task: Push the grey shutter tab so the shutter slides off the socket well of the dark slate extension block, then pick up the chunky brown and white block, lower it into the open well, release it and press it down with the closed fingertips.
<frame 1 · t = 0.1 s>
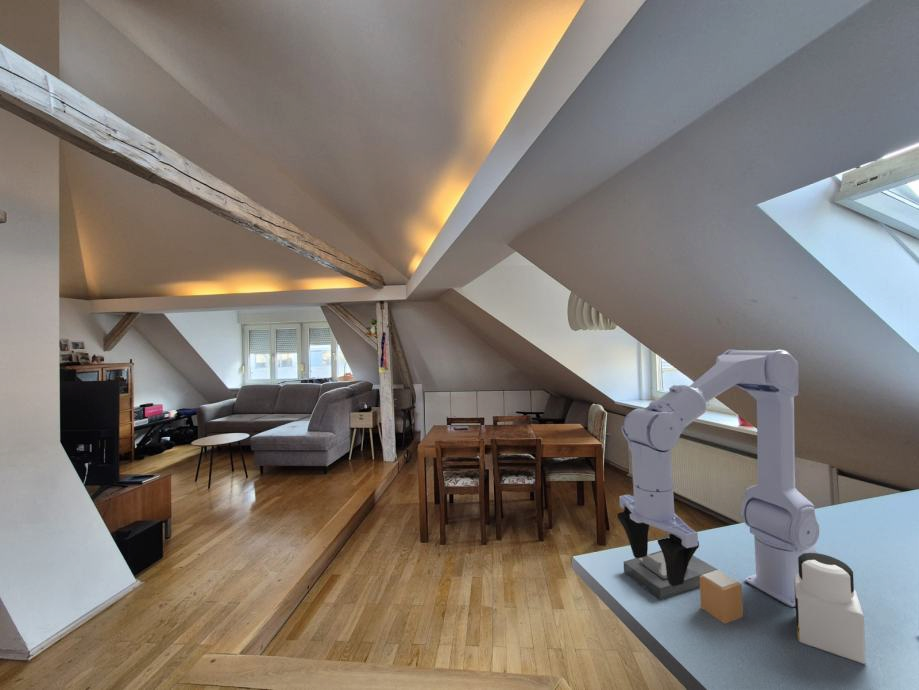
hand: (657, 569, 61), 10 cm above the kitchen counter, fingers open, 7 cm apart
medicine bottle: (828, 639, 58), on the kitchen counter
shutter: (662, 560, 74), point 4 cm above the kitchen counter, slide at 0.0 cm
brown and white block: (721, 611, 65), on the kitchen counter
socket plate: (669, 576, 75), on the kitchen counter
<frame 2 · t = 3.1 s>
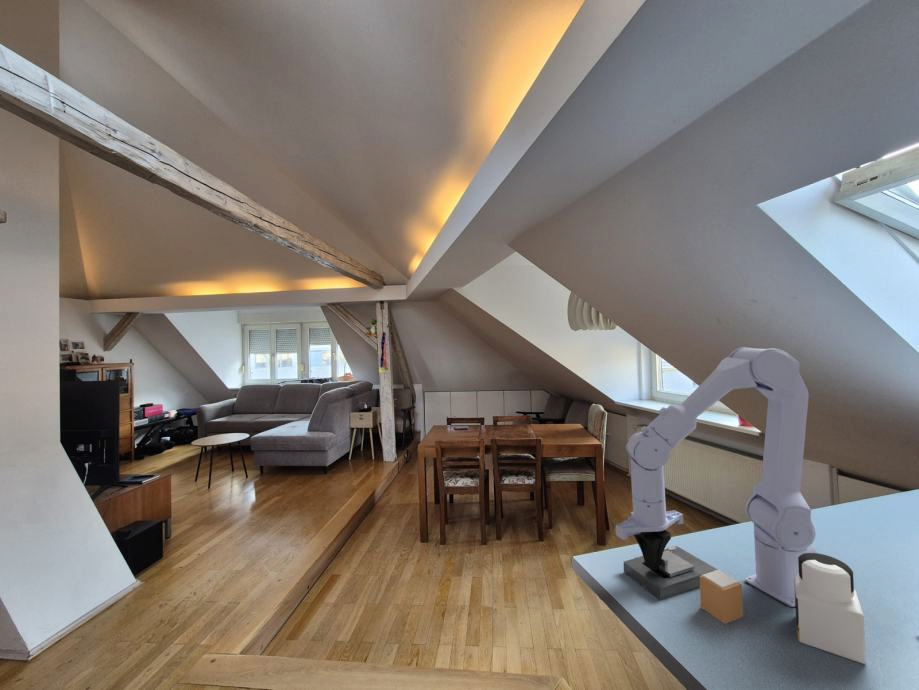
hand: (652, 567, 73), 3 cm above the kitchen counter, fingers closed
shutter: (668, 558, 75), point 4 cm above the kitchen counter, slide at 1.5 cm, touching gripper
everything else where it was.
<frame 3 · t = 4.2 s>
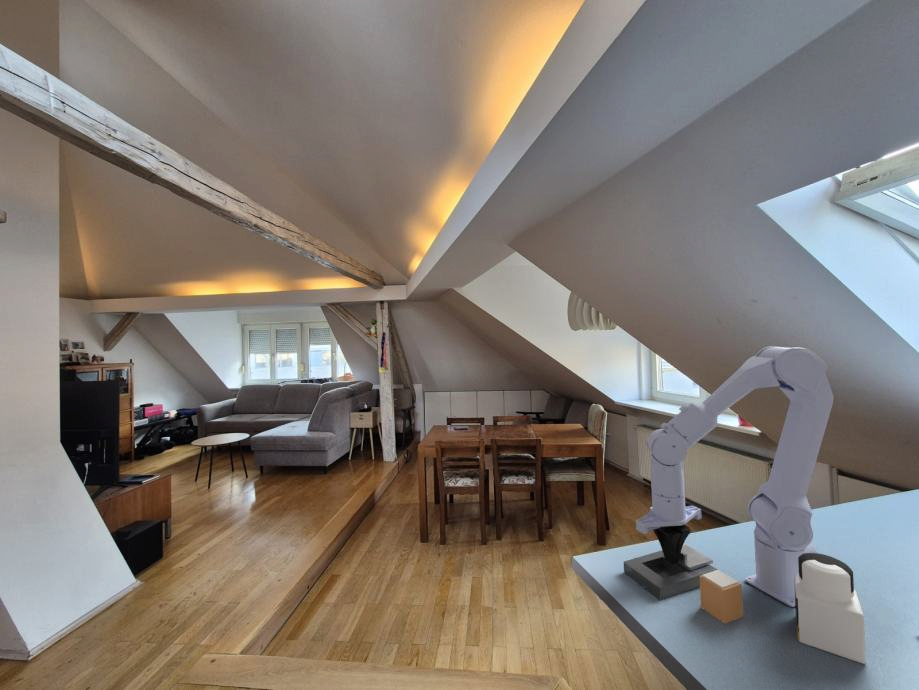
hand: (671, 561, 75), 3 cm above the kitchen counter, fingers closed
shutter: (687, 552, 76), point 4 cm above the kitchen counter, slide at 6.4 cm, touching gripper
everything else where it was.
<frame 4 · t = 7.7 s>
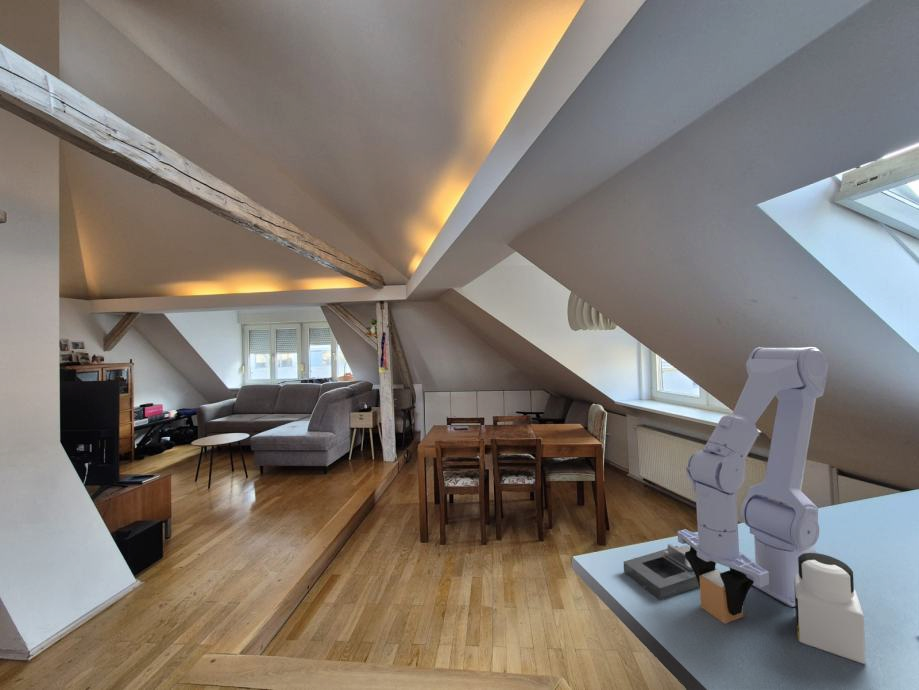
hand: (721, 603, 65), 1 cm above the kitchen counter, fingers closed on brown and white block, 4 cm apart
shutter: (687, 552, 76), point 4 cm above the kitchen counter, slide at 6.4 cm
brown and white block: (721, 611, 65), on the kitchen counter, touching gripper
everything else where it was.
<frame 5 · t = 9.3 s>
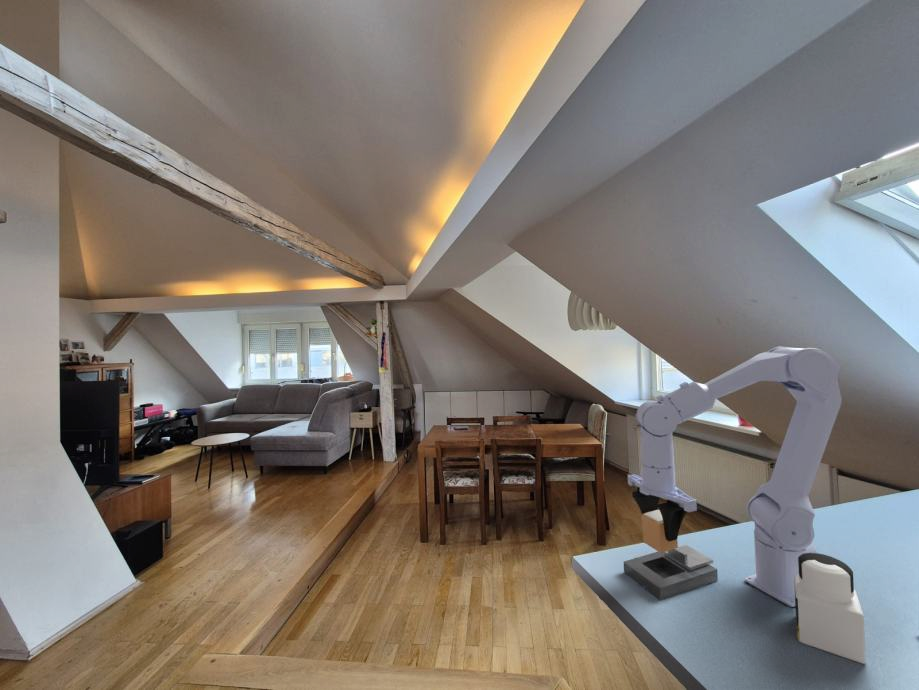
hand: (661, 533, 74), 9 cm above the kitchen counter, fingers closed on brown and white block, 4 cm apart
brown and white block: (660, 544, 74), point 7 cm above the kitchen counter, touching gripper
everything else where it was.
when the fingers open (3 cm above the kitchen counter, at t = 11.1 s): brown and white block stays where it is, resting on socket plate.
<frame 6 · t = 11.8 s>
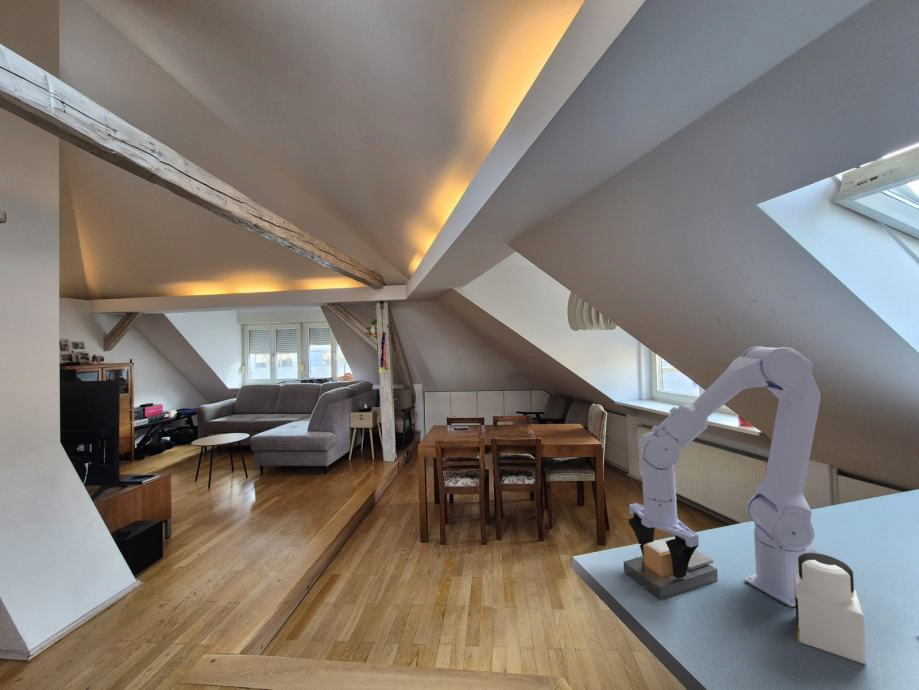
hand: (663, 565, 74), 3 cm above the kitchen counter, fingers open, 7 cm apart
brown and white block: (661, 575, 74), point 1 cm above the kitchen counter, touching socket plate
everything else where it was.
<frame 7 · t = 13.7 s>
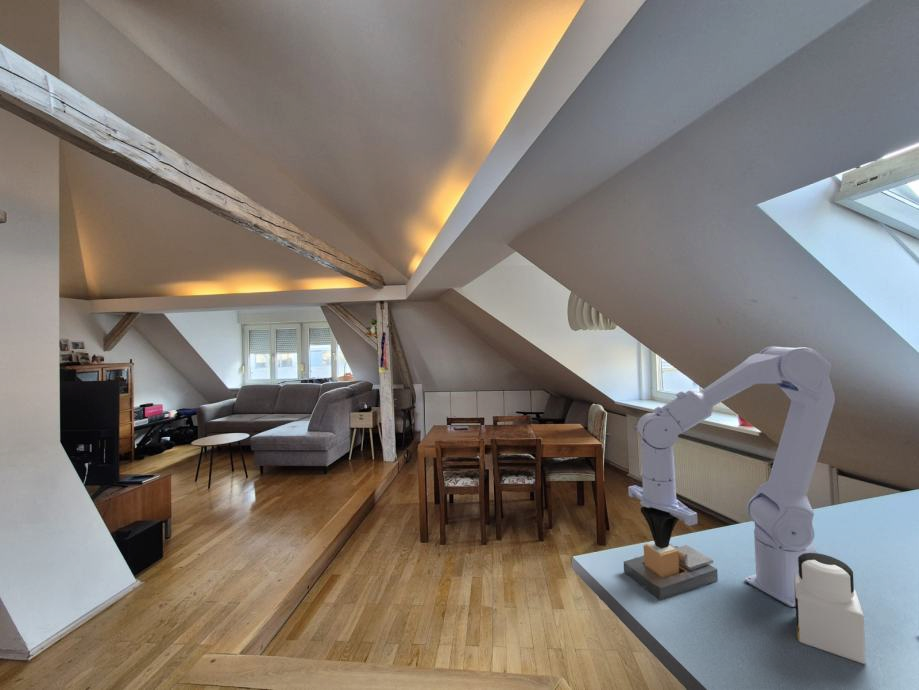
hand: (662, 545, 74), 6 cm above the kitchen counter, fingers closed
nothing on the kitchen counter moved.
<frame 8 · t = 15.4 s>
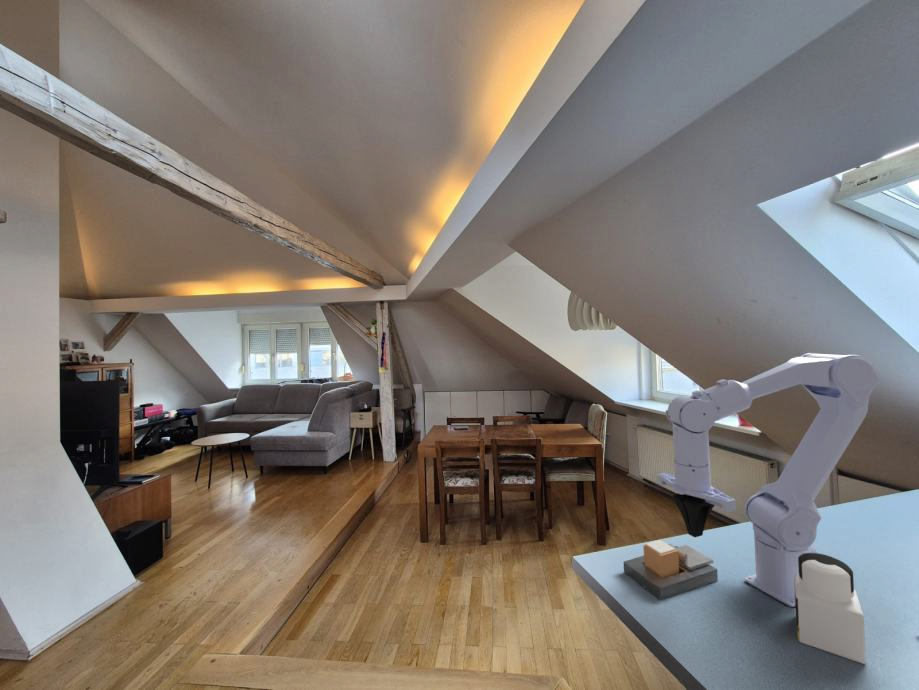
hand: (695, 534, 71), 10 cm above the kitchen counter, fingers closed
nothing on the kitchen counter moved.
at the end: brown and white block 0.4 cm from the target spot on the socket plate, point 0.6 cm above the socket plate's base; shutter slide at 6.4 cm; brown and white block tilted 0° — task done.
